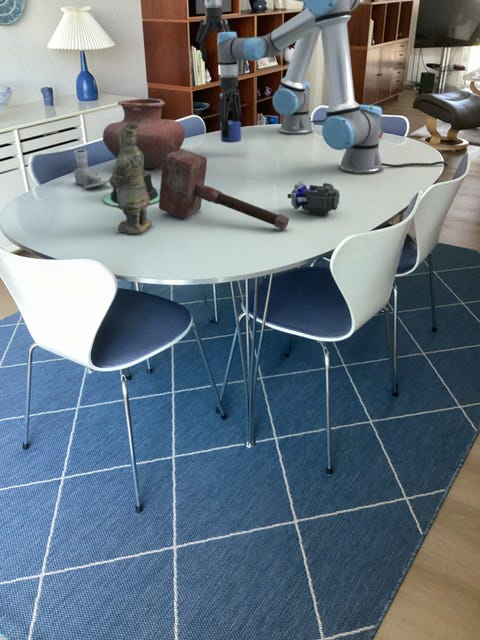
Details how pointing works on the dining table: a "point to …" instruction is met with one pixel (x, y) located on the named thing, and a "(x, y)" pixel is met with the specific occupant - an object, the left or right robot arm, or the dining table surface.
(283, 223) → the sledgehammer
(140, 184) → the statue
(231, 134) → the canister
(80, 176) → the grey boot
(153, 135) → the clay pot
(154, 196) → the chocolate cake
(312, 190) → the toy
